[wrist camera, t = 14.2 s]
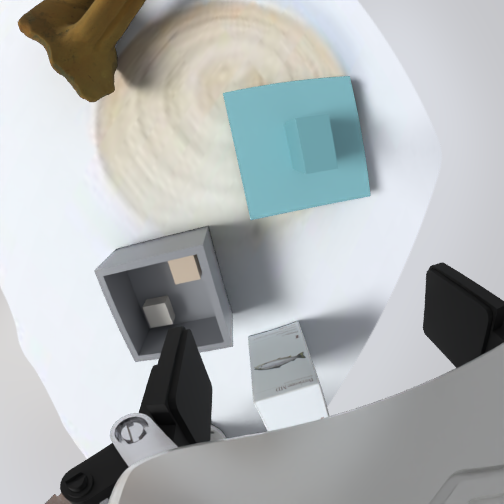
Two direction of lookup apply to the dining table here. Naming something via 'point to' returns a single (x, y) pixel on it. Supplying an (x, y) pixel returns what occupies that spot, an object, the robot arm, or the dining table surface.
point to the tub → (167, 293)
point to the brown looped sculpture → (81, 39)
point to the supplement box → (285, 378)
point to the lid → (298, 145)
